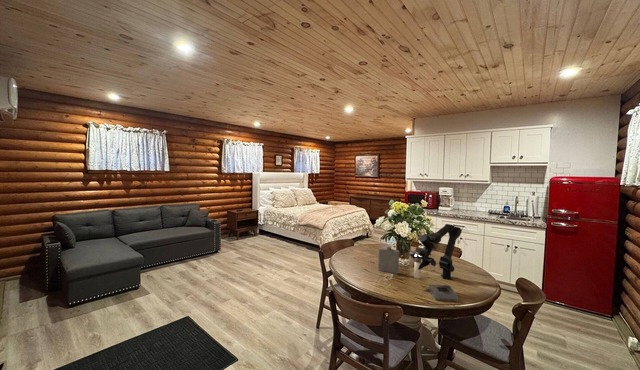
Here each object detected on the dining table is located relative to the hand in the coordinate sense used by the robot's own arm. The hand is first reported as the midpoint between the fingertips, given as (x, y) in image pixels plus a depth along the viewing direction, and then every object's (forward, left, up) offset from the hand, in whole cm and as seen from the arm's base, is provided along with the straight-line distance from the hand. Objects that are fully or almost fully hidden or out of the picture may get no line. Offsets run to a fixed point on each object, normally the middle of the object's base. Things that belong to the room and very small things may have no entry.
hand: (416, 268), depth 180 cm
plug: (-1, +1, -7) cm, 7 cm away
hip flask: (-27, -14, -14) cm, 33 cm away
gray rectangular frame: (+9, +15, -13) cm, 22 cm away
